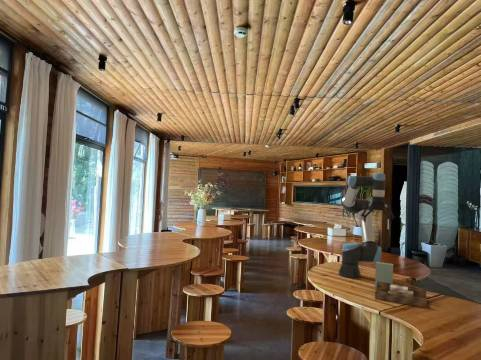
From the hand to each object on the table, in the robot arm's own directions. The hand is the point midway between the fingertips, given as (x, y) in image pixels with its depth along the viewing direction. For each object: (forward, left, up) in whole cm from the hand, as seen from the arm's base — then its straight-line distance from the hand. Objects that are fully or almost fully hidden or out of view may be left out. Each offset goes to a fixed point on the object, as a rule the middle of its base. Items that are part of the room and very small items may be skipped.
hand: (377, 228), depth 228 cm
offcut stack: (+16, -30, -35) cm, 49 cm away
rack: (+16, -27, -37) cm, 49 cm away
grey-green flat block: (+6, -10, -37) cm, 39 cm away
